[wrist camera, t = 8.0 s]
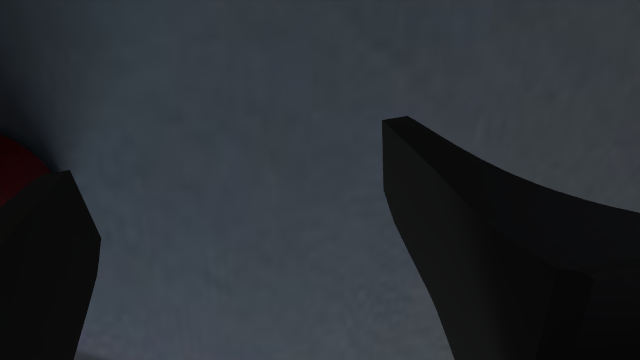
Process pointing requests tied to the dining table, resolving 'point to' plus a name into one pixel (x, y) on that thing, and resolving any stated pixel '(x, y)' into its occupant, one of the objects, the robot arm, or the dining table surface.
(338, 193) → the dining table surface
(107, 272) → the dining table surface
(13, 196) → the robot arm
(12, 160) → the soda can
